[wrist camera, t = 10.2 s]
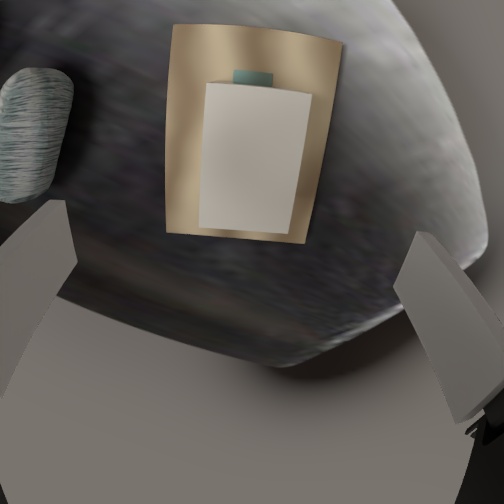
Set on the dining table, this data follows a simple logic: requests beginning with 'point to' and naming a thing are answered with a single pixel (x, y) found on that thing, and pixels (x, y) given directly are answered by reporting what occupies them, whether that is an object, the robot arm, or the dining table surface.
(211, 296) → the dining table surface
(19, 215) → the dining table surface
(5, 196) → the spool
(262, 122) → the white block
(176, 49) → the wooden peg board
